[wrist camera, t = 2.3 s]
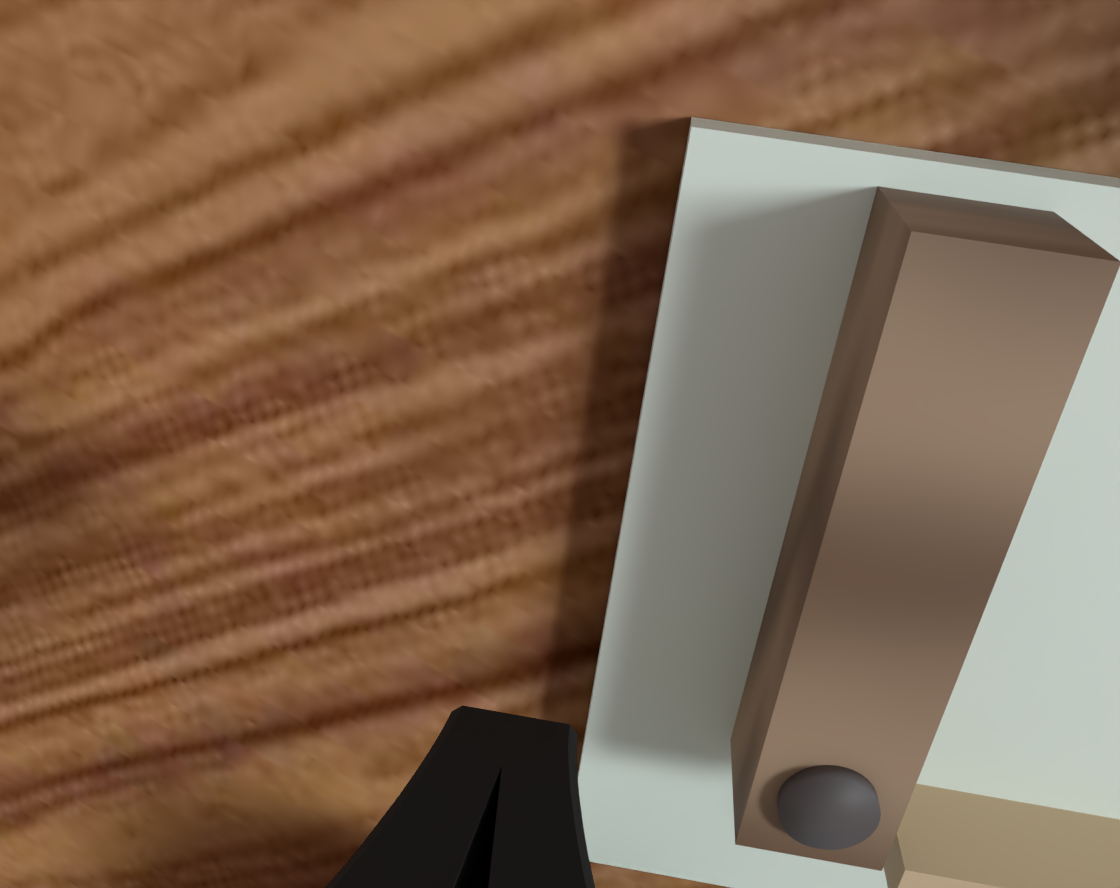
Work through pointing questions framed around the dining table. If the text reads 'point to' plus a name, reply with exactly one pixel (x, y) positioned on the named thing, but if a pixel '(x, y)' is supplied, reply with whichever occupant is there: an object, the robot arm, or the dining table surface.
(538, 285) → the dining table surface
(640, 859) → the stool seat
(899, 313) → the folding leg
